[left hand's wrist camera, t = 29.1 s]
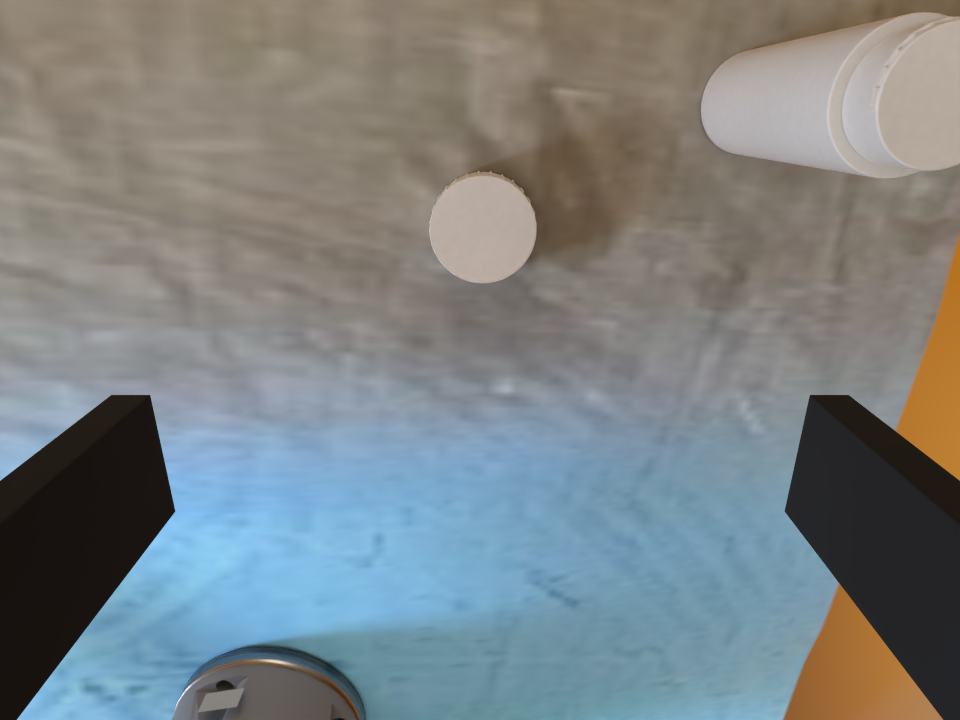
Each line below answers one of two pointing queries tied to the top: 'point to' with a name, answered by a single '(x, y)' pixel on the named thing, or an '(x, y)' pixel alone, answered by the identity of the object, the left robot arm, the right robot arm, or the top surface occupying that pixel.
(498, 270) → the lid
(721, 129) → the jar
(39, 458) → the left robot arm
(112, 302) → the top surface
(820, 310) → the top surface
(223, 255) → the top surface
